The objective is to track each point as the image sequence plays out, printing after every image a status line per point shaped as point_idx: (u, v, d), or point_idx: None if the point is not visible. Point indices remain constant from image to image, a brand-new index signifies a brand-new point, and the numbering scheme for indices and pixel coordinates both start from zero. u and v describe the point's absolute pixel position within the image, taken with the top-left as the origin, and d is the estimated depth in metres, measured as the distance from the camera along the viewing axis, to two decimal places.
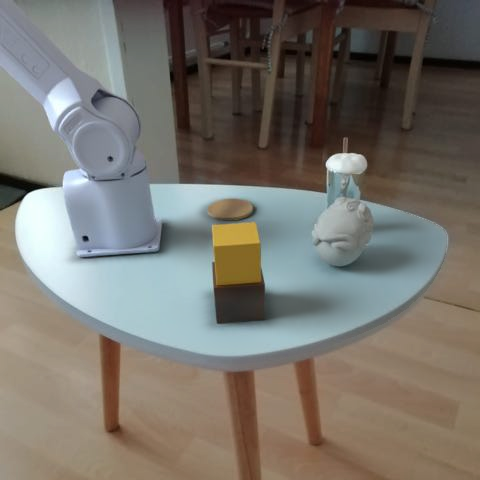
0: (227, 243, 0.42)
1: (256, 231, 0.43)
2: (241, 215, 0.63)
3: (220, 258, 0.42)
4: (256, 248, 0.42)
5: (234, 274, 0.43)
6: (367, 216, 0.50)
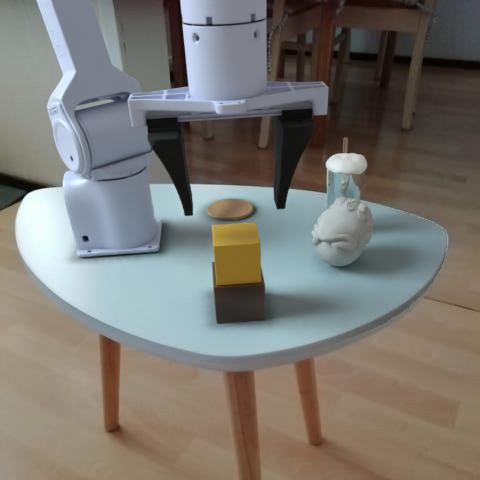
0: (227, 243, 0.42)
1: (256, 231, 0.43)
2: (241, 215, 0.63)
3: (220, 258, 0.42)
4: (256, 248, 0.42)
5: (234, 274, 0.43)
6: (367, 216, 0.50)
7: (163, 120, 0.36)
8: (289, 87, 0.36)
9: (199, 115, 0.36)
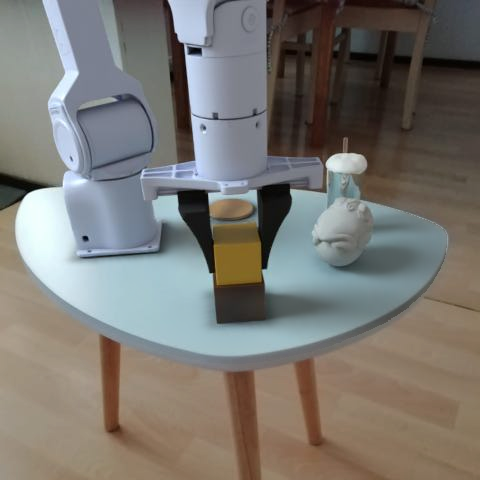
0: (228, 242, 0.42)
1: (256, 231, 0.43)
2: (241, 215, 0.63)
3: (221, 258, 0.42)
4: (256, 248, 0.42)
5: (234, 274, 0.43)
6: (367, 216, 0.50)
7: (192, 192, 0.40)
8: (287, 164, 0.39)
9: None
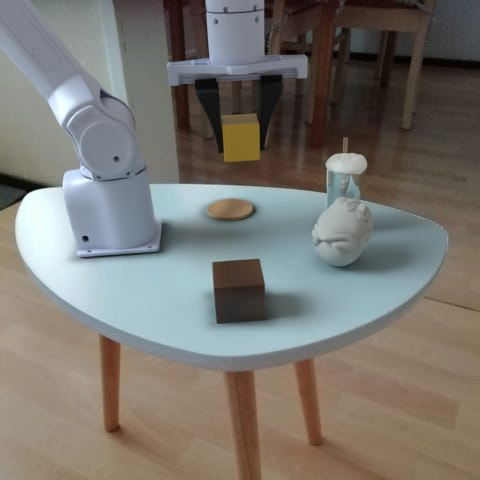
0: (233, 123, 0.53)
1: (256, 118, 0.55)
2: (241, 215, 0.63)
3: (228, 137, 0.54)
4: (256, 128, 0.53)
5: (238, 152, 0.55)
6: (367, 216, 0.50)
7: (206, 80, 0.51)
8: (280, 58, 0.51)
9: (216, 78, 0.51)
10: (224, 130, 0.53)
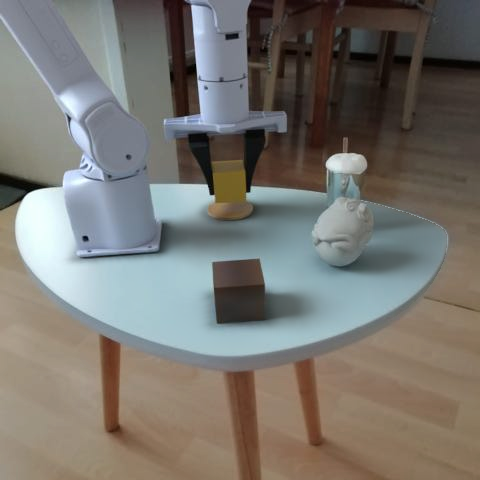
0: (222, 171, 0.60)
1: (242, 164, 0.62)
2: (241, 215, 0.63)
3: (218, 182, 0.61)
4: (242, 175, 0.60)
5: (227, 194, 0.62)
6: (367, 216, 0.50)
7: (198, 134, 0.58)
8: (262, 115, 0.58)
9: (207, 132, 0.59)
10: (214, 177, 0.60)
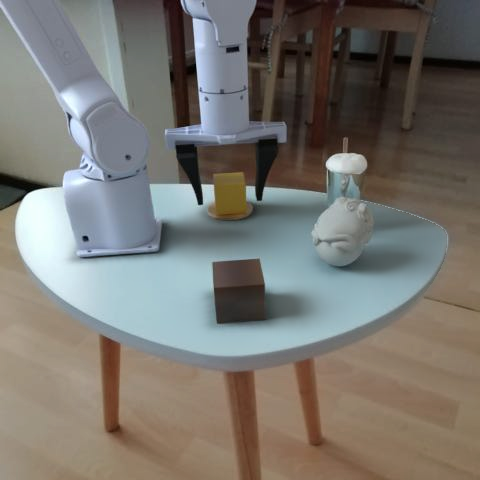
0: (223, 183, 0.61)
1: (243, 177, 0.63)
2: (241, 215, 0.63)
3: (218, 194, 0.62)
4: (243, 187, 0.61)
5: (228, 206, 0.63)
6: (367, 216, 0.50)
7: (186, 145, 0.59)
8: (262, 126, 0.59)
9: (207, 142, 0.59)
10: (215, 189, 0.61)
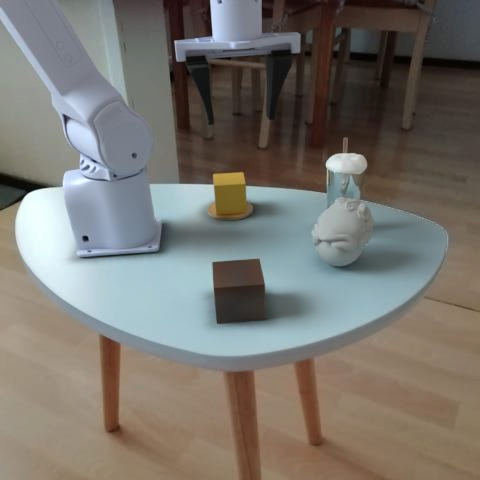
0: (223, 183, 0.61)
1: (243, 177, 0.63)
2: (241, 215, 0.63)
3: (218, 194, 0.62)
4: (243, 187, 0.61)
5: (228, 206, 0.63)
6: (367, 216, 0.50)
7: (196, 57, 0.56)
8: (276, 35, 0.57)
9: (219, 54, 0.57)
10: (215, 189, 0.61)
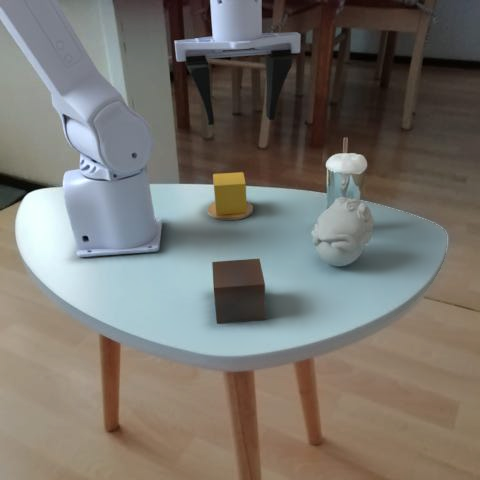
0: (223, 183, 0.61)
1: (243, 177, 0.63)
2: (241, 215, 0.63)
3: (218, 194, 0.62)
4: (243, 187, 0.61)
5: (228, 206, 0.63)
6: (367, 216, 0.50)
7: (196, 57, 0.56)
8: (276, 35, 0.57)
9: (219, 54, 0.57)
10: (215, 189, 0.61)
